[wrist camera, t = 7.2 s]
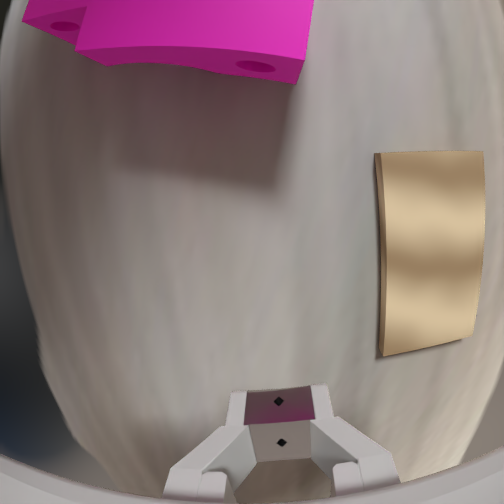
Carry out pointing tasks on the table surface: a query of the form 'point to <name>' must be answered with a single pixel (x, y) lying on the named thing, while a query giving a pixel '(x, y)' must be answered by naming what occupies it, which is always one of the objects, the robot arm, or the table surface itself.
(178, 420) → the table surface
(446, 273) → the wooden board
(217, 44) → the toy block
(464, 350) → the table surface
